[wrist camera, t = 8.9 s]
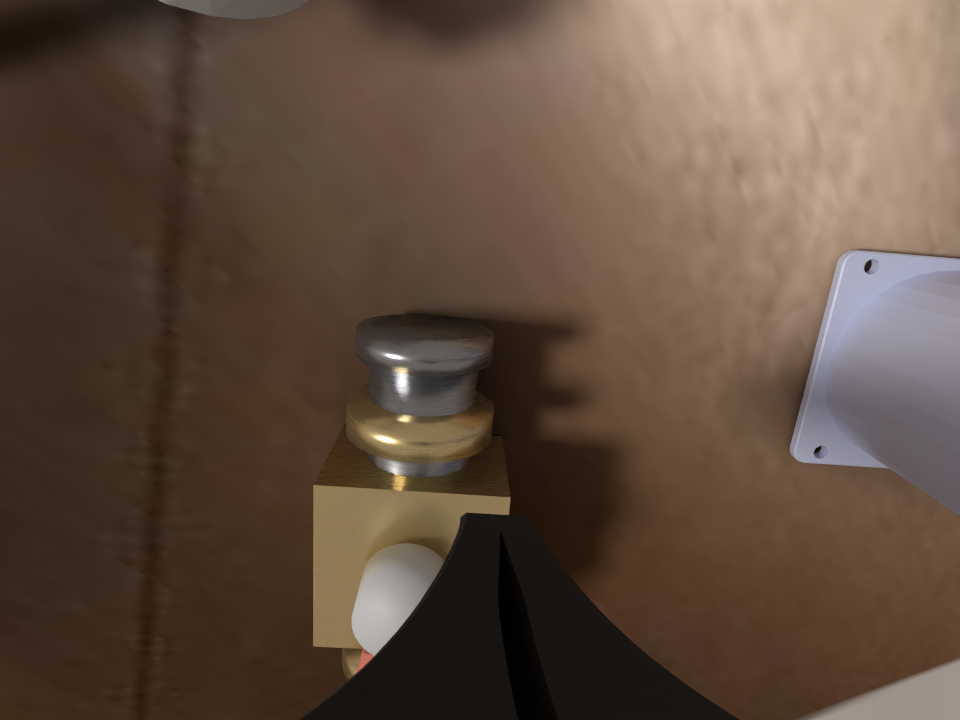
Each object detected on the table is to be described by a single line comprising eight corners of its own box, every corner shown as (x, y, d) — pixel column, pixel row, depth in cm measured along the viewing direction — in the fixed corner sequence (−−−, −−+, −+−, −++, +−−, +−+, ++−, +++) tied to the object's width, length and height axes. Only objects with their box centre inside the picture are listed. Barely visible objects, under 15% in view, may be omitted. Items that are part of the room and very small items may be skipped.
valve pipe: (345, 308, 21) (311, 344, 16) (514, 321, 21) (527, 360, 16) (339, 652, 25) (311, 757, 21) (479, 659, 25) (481, 764, 21)
